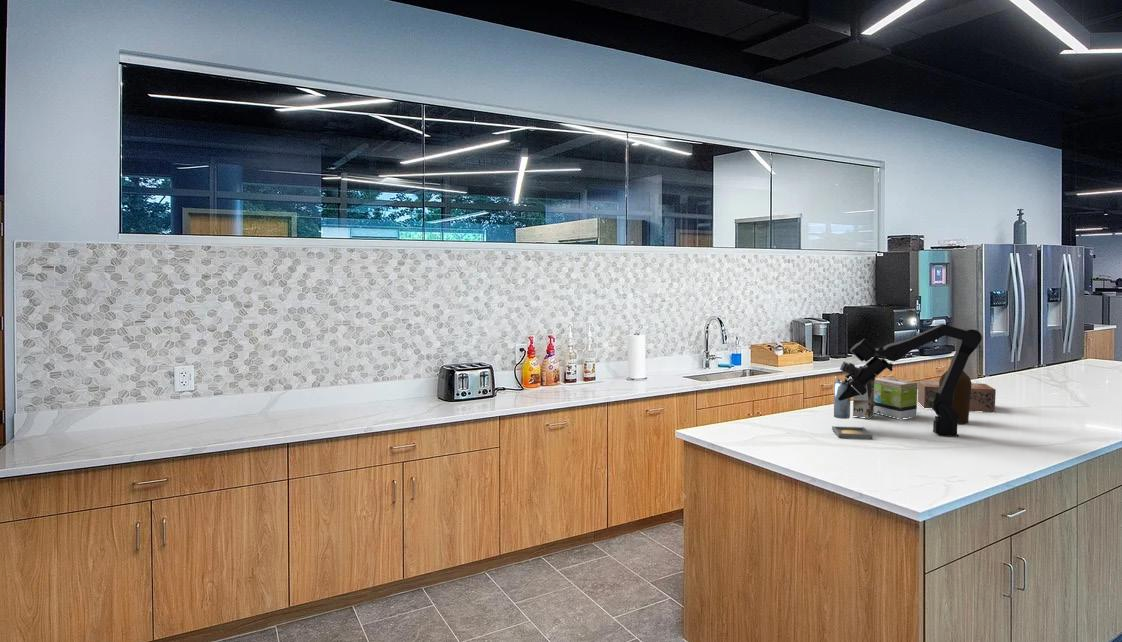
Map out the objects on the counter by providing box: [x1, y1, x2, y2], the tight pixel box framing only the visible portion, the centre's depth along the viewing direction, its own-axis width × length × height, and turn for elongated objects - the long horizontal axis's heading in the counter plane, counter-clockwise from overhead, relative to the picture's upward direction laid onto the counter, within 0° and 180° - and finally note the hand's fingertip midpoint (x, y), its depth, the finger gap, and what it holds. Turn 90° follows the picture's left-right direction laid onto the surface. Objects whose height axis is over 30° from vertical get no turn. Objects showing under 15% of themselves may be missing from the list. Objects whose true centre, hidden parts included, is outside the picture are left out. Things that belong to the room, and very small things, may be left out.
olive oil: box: [938, 357, 972, 425], centre depth 240 cm, size 11×11×25 cm
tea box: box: [874, 376, 918, 419], centre depth 252 cm, size 15×10×15 cm, turn 25°
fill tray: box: [831, 425, 873, 440], centre depth 223 cm, size 11×11×2 cm
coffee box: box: [852, 380, 874, 419], centre depth 251 cm, size 9×6×16 cm
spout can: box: [833, 375, 851, 420], centre depth 232 cm, size 6×6×16 cm
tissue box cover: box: [917, 380, 997, 413], centre depth 266 cm, size 26×14×10 cm, turn 69°
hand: (838, 398), depth 233 cm, fingers closed on spout can, 6 cm apart
